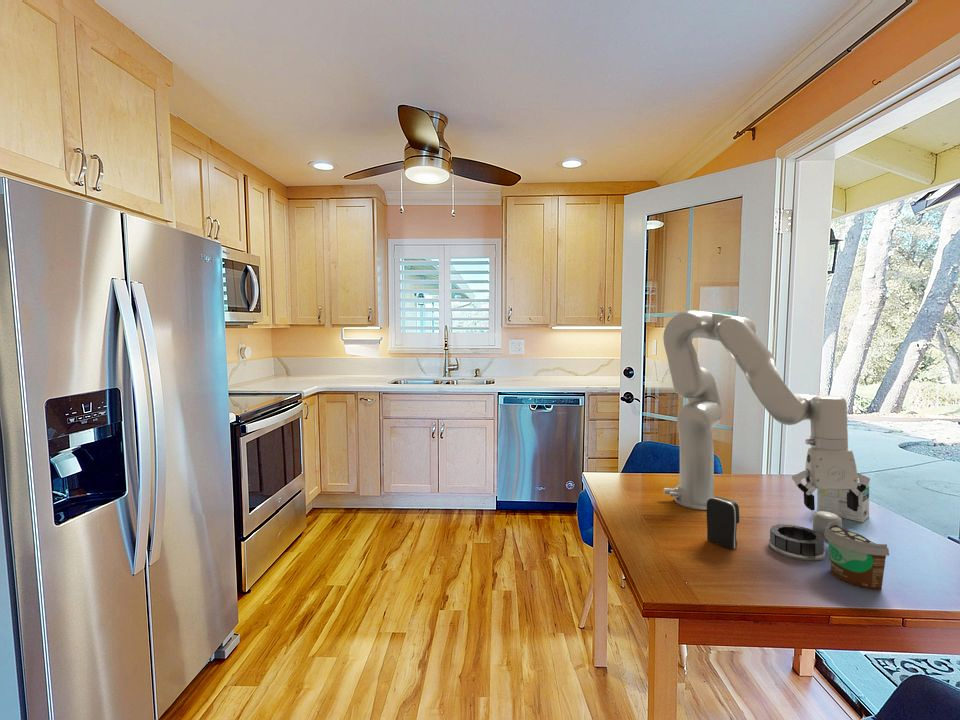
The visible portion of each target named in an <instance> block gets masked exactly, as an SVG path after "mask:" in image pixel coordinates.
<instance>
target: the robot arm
mask: <svg viewBox="0 0 960 720" xmlns="http://www.w3.org/2000/svg"><path fill="white" fill-rule="evenodd" d="M756 328H757V327H756V326H755V324H754V323H753V321H752V320H751V319H749V318H747V317H744V316H737V315H730V314H729V315H728V314H723V313H716V312H715V313H714V312H710V311H703V310H684V311H681V312H679V313H677V314H676V315H674V316H673V317H672V318H670V320H669V321H668V322H667V324H666V325H665V328H664V331H663V338H662V339H663V345H664V349H665V353H666V357H667V361H668V363H667V364H668V368H669V372H670V376H671V382H672V385H673V389H674V392H675V394H677V395H678V396H679V397H681V398H683V399H688V403H687V404H684V405H683V406H682V407H681V408H680V409H679V411H678V414H677V418H676V425H677V431H678V438H679V439H678V441H679V484H676V486H677V487H673V488H671V487H664V488H663V494H664V495H669V496H670V497H674V502H676V504H678V505H680V506H681V507H684V508H687V509H693V510H699V511H701V510H702V511H707V501H708V500H709V499H710V498H713V497H715V494H714V493H715V492H714V489H715V488H714V487H715V486H714V483H715V480H714V478H715V475H714V474H715V473H714V470H715V469H714V465H715V463H714V457H715V456H714V452H715V451H714V439H713V434H712V429H714V428H715V427H716V426H718V425H719V424H720V423H721V422H722V420H723V408H722V402H721V399H720V395H719V391H718V387H717V383H716V380H715V377H714V375H713V374H712V372H711V371H709V370H708V369H707V368H705V367H703V366H700V364H699V359H698V354H697V352H696V349H695V347H694V344H693V340H694V339H697V338H700V339H701V338H702V339H707V340H713V341H717V342H718V341H719V342H720V343H721V345H722V346H723V347H724V349H725V351H726V352H727V353H729V355H730V356H731V358H732V359H733V360H734V362H735V363H736V365H737V366H738V367H739V369H740V370H741V371H742V372H743V374H744V376H745V379H746V380H747V382H748V384H749V386H750V388H751V389H752V392H753V393H754V395H755V397H756V398H757V400H758V401H759V402H760V404H761V405H762V406H763V407H764V408H765V410H766V411H767V412H768V414H769V415H770V416H771V418H773V419H774V420H775V421H777V422H778V423H779V424H782V425H786V426H792V425H793V426H794V425H797V424H799V423H801V422H802V421H810V422H809V423H810V436H809V439H808V438H806V439H805V441H804V442H805V444H806V445H810V446H809V447H808V448H807V449H808V450H807V454H806V458H805V459H806V460H805V470H803V471H801V472H797V473H796V474H794V475H792V476H791V479H792V481H793V482H794V484H795V486H796V487H797V488H798V489H799V490H801V492H802V493H803V504H804V506H805V507H806V508H807V509H808V510H810V511H815V506H816V505H815V503H816V502H815V495H814V494H813V493H814V492H815V491H816V490H817V489H830V490H849V492H847V507H848V508H850V509H851V510H853V511H858V506H859V499H858V496H860V495H861V492H863V491H864V490H865V489H866V485H868V483H869V484H870V481H871V478H870V477H868V476H866V475H863V474H861V473H860V472H858V470H857V464H856V461H855V460H856V459H855V455H854V453H853V450H852V449H850V448H849V443H848V442H849V439H848V438H849V437H848V435H849V434H848V404H847V400H846V399H845V397H842V396H839V395H832V394H831V395H830V394H829V395H828V394H827V395H826V394H825V395H823V394H822V395H813V394H812V395H810V394H806V393H805V394H804V393H798V392H797V393H796V392H791V390H790V389H789V388H788V386H787V385H786V383H785V382H784V381H783V379H782V377H781V376H780V374H779V372H778V368H777V364H776V359H775V357H774V355H773V354H772V352H771V351H770V349H768V347H767V346H766V345H765V344H764V343H763V341H762V340H761V339H760V338H759V336H758V335H757V333H756V331H757V329H756ZM858 478H859V479H860V481H859V483H858ZM804 479H805V482H806V483H805V484H803V483H802V480H804Z"/></svg>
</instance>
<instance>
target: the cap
mask: <svg viewBox="0 0 960 720" xmlns="http://www.w3.org/2000/svg"><path fill="white" fill-rule="evenodd" d="M837 521H838V526H839V527H841V528H843V523H842V522H843V519H842V517H838V516H837V515H836V514H833V513H830V512H824V511H819V512H817V511H816V512H813V513H812V530H813V531H816V532H817V533H819V534H821V535H822V536H823V537H824V538H826V537H825V536H824V533H825V529H826V527H827V526H828V524H829V523H831V522H837Z"/></svg>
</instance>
